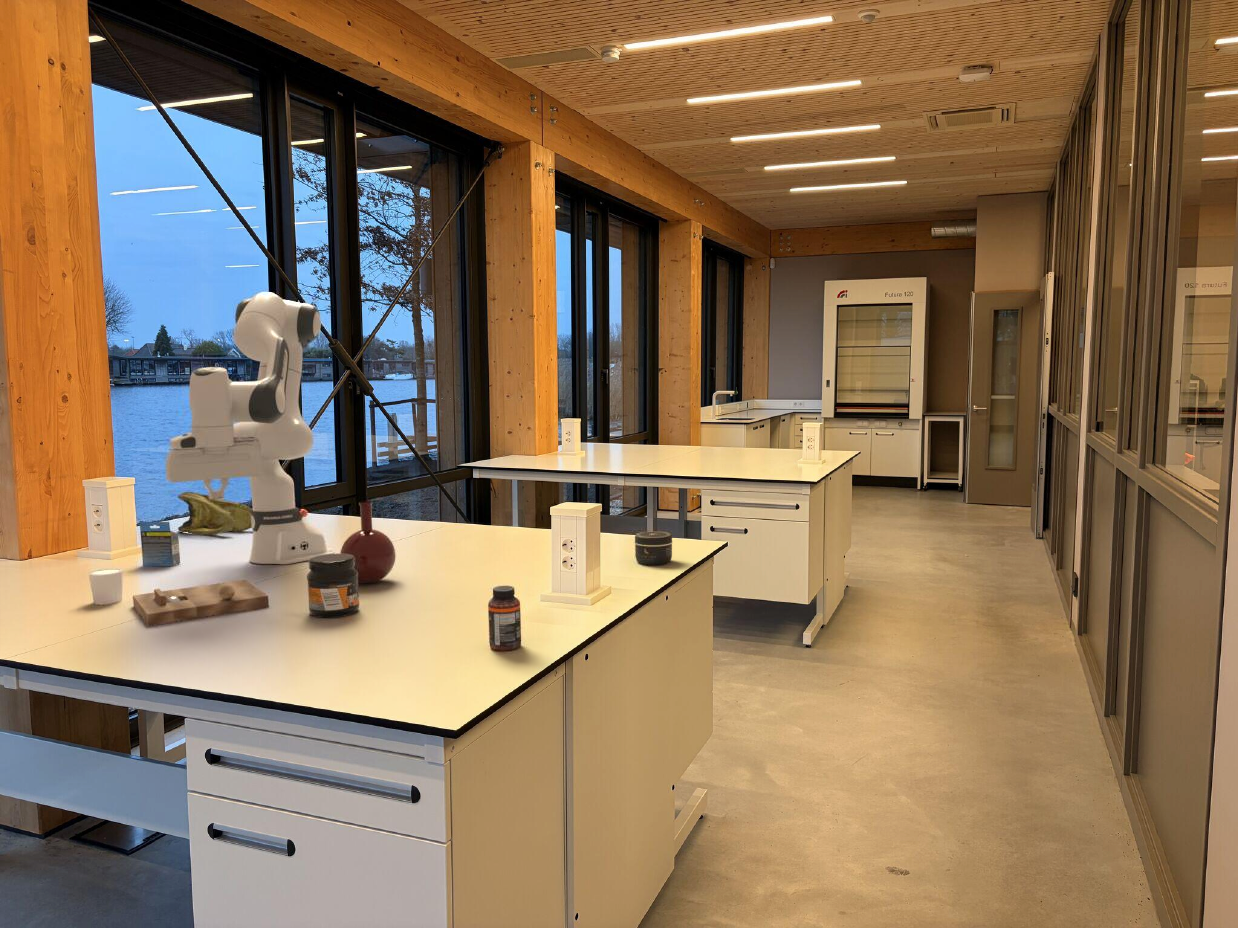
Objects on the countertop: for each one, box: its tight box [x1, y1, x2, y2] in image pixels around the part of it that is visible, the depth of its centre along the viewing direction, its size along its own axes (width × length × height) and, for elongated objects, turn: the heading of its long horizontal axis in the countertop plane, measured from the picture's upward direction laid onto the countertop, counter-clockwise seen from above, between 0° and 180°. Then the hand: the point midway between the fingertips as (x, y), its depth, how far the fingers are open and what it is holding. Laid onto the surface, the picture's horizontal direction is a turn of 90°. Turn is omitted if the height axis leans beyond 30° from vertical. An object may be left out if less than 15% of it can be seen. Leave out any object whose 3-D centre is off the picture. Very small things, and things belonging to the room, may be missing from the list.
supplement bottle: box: [487, 585, 522, 652], centre depth 167 cm, size 6×6×11 cm
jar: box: [634, 530, 673, 567], centre depth 238 cm, size 10×10×8 cm
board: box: [132, 579, 270, 627], centre depth 200 cm, size 24×20×4 cm
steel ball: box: [166, 596, 180, 603], centre depth 196 cm, size 3×3×3 cm
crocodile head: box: [177, 491, 253, 536], centre depth 294 cm, size 27×17×15 cm
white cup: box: [88, 568, 124, 606], centre depth 206 cm, size 7×7×7 cm
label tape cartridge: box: [139, 521, 181, 567], centre depth 244 cm, size 9×4×12 cm, turn 84°
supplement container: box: [306, 553, 360, 619], centre depth 193 cm, size 10×10×12 cm
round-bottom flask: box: [339, 500, 397, 584], centre depth 220 cm, size 13×13×20 cm
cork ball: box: [219, 585, 235, 600], centre depth 196 cm, size 3×3×3 cm
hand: (216, 498), depth 206 cm, fingers closed
